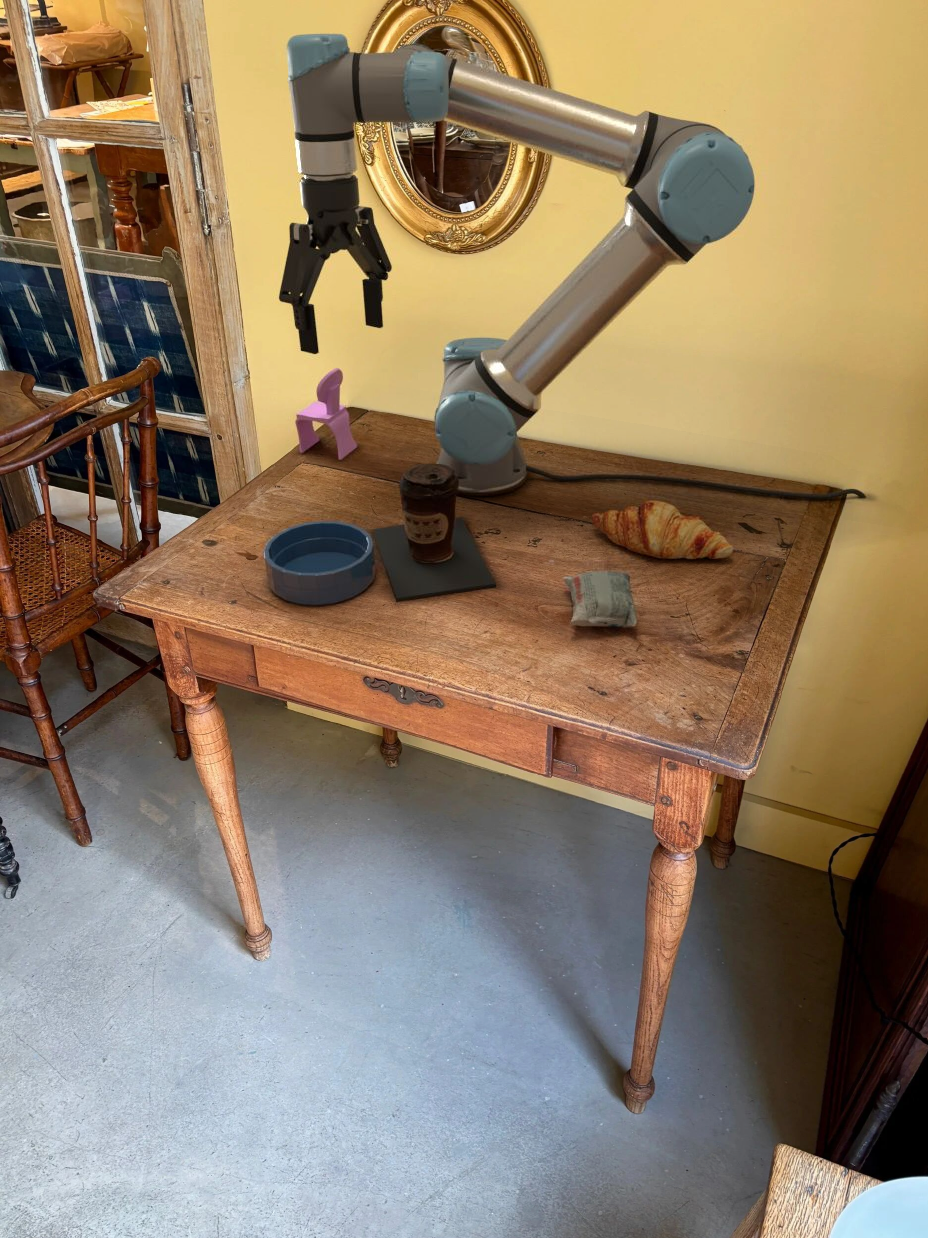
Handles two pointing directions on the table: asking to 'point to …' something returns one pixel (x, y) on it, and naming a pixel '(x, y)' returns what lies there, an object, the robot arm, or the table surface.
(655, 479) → the robot arm
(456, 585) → the mat
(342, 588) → the bowl
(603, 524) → the croissant
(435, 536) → the coffee cup
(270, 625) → the table surface
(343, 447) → the toy chair
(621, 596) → the packaged food
